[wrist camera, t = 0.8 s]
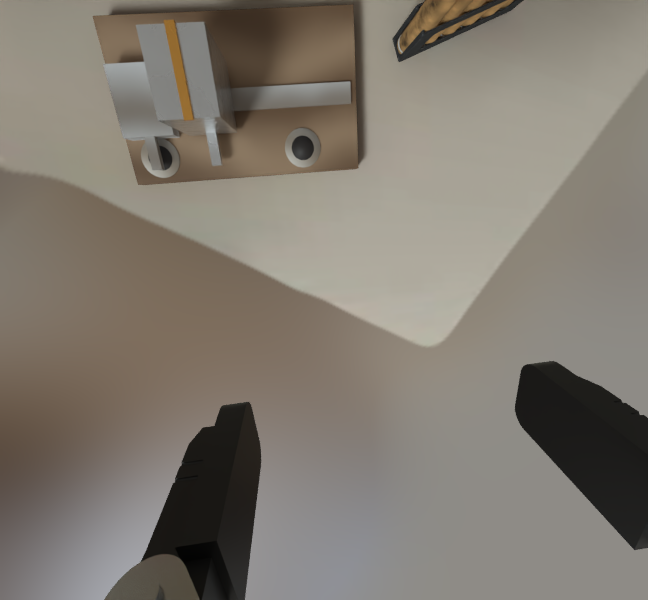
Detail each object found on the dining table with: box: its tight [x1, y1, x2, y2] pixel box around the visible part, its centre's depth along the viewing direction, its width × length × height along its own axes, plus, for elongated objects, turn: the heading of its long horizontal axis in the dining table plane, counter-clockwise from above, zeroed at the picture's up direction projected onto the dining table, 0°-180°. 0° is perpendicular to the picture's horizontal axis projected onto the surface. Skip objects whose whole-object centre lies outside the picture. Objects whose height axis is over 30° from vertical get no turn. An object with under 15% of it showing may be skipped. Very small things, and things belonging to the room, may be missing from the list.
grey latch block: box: [136, 20, 237, 166], centre depth 23 cm, size 8×4×7 cm, turn 4°
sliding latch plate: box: [93, 5, 358, 185], centre depth 26 cm, size 12×20×3 cm, turn 94°
